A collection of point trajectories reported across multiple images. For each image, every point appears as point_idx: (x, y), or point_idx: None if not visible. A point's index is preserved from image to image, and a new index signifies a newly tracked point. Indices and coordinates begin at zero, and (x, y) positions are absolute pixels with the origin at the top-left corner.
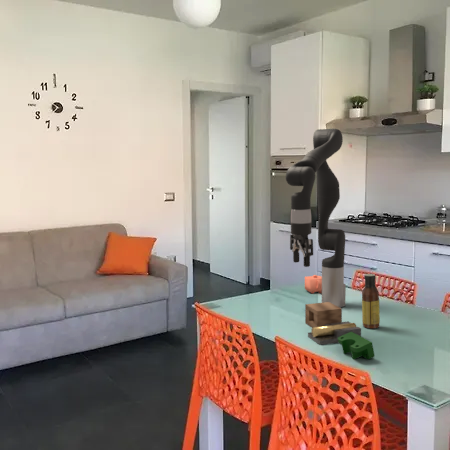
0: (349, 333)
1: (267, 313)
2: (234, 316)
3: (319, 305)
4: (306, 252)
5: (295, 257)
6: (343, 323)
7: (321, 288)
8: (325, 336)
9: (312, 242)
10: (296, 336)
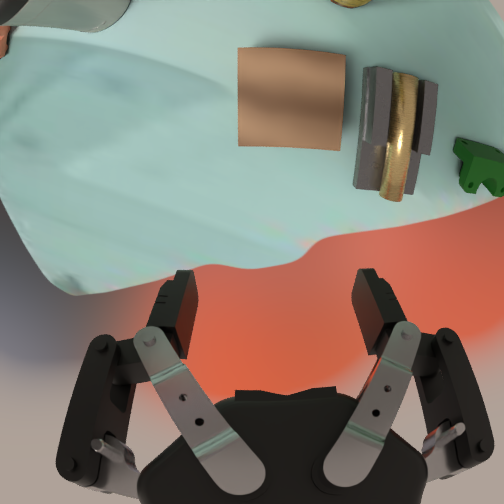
0: (475, 164)
1: (124, 200)
2: (139, 276)
3: (273, 103)
4: (428, 384)
5: (189, 319)
6: (388, 92)
7: (3, 27)
8: None
9: (487, 428)
10: (336, 208)
